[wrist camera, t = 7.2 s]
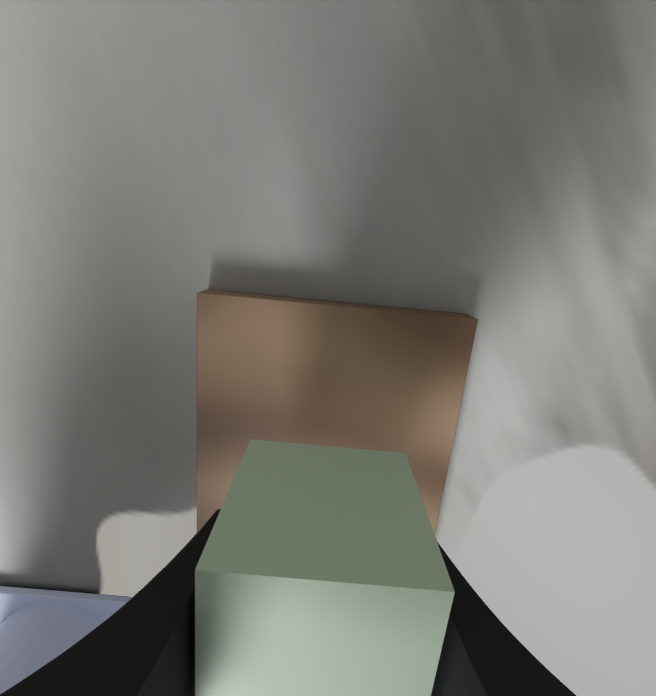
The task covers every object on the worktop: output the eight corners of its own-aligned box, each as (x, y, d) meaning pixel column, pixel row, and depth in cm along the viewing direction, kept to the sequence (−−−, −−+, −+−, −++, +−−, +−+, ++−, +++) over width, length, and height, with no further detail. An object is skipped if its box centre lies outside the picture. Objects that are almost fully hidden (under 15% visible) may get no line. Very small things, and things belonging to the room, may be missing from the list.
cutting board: (418, 562, 19) (424, 583, 18) (205, 544, 19) (196, 564, 18) (467, 314, 16) (477, 319, 15) (207, 289, 16) (197, 292, 14)
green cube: (385, 577, 13) (414, 765, 8) (244, 565, 13) (195, 747, 8) (405, 453, 12) (454, 592, 7) (250, 439, 12) (195, 569, 7)
